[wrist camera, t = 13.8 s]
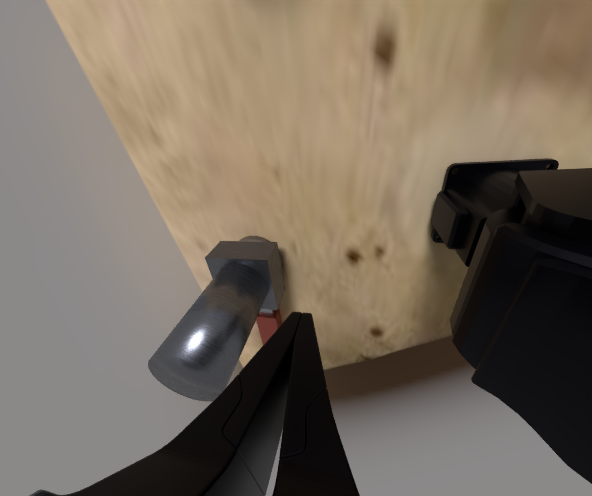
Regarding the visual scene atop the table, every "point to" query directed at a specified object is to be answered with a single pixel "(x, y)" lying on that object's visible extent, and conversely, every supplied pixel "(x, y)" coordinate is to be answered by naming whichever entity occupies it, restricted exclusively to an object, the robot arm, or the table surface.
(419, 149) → the table surface
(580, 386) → the robot arm
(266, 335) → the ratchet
